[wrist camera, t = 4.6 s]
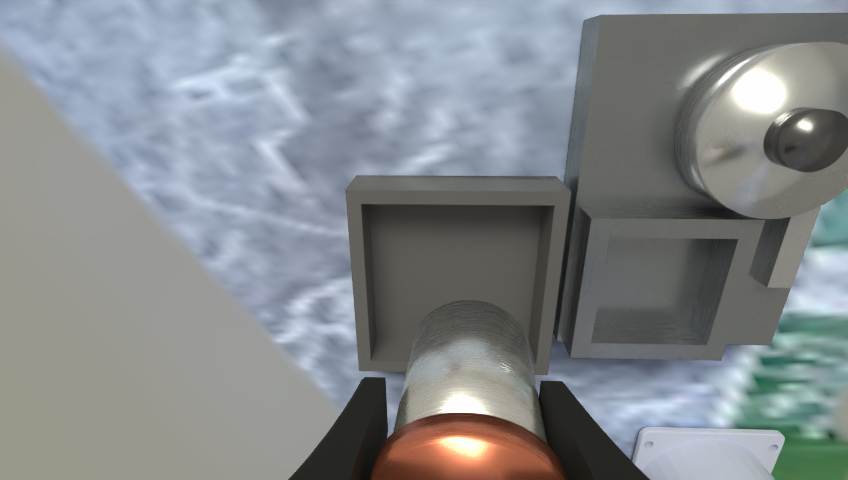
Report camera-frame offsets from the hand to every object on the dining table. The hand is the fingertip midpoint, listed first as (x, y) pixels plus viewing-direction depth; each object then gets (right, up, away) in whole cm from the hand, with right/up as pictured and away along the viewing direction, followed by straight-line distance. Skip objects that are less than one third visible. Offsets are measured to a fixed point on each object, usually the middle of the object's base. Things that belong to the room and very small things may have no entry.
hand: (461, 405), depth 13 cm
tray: (0, +4, +9) cm, 10 cm away
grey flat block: (+10, +7, +7) cm, 14 cm away
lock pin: (0, +1, +2) cm, 3 cm away
